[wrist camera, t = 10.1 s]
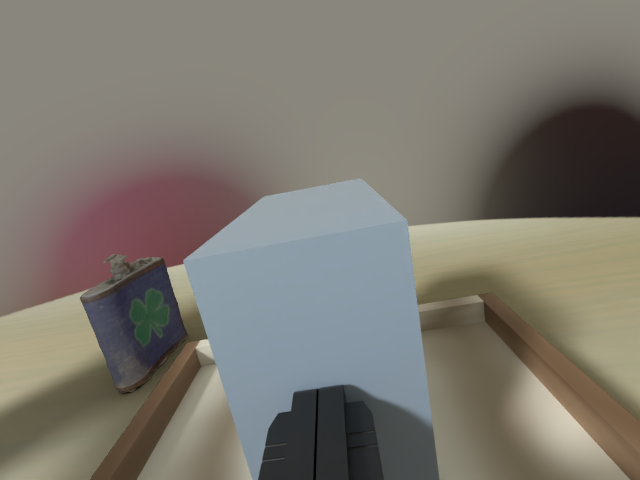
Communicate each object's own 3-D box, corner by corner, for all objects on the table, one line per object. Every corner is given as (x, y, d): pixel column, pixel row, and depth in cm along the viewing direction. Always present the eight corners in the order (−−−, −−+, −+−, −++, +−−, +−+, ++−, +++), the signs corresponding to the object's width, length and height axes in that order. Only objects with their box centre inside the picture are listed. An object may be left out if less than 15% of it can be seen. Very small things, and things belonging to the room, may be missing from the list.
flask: (136, 394, 27) (87, 273, 25) (106, 395, 28) (55, 277, 25) (193, 332, 36) (162, 237, 33) (169, 334, 37) (137, 242, 34)
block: (274, 550, 12) (183, 260, 9) (300, 351, 23) (263, 196, 21) (445, 530, 11) (407, 220, 9) (385, 337, 23) (360, 178, 20)
